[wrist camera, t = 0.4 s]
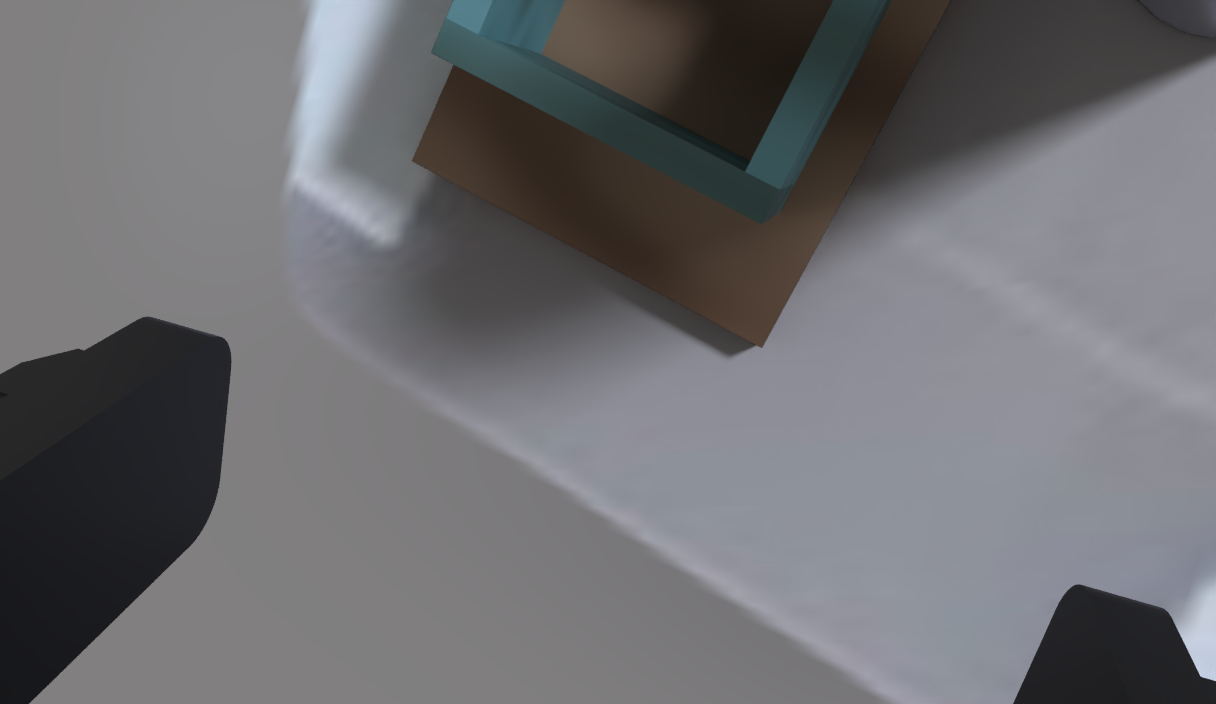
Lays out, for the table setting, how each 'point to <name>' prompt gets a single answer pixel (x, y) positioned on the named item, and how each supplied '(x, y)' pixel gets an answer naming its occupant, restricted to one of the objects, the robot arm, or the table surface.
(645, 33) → the cup stand
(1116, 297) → the table surface
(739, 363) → the table surface
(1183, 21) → the silver metal cylinder
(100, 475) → the robot arm
